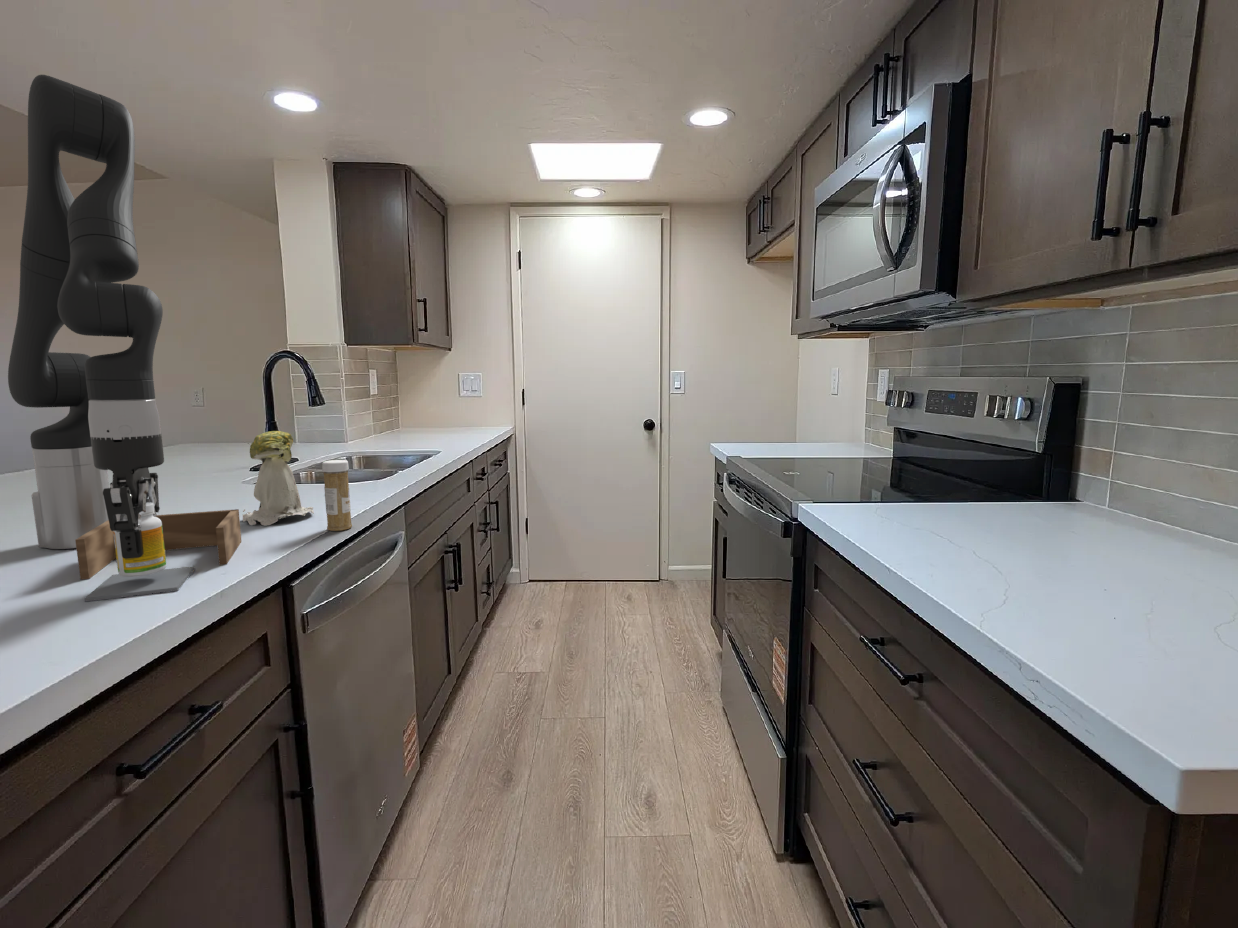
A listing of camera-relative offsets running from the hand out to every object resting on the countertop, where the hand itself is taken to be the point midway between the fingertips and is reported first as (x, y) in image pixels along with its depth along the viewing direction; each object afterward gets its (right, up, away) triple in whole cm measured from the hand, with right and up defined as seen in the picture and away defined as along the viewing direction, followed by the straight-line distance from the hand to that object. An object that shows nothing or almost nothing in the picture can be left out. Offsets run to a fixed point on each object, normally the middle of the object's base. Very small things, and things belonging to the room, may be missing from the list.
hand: (140, 550), depth 83 cm
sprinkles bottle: (+13, -1, +32) cm, 35 cm away
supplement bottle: (0, -3, +1) cm, 3 cm away
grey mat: (0, -5, +1) cm, 5 cm away
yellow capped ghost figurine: (-4, +1, +40) cm, 40 cm away
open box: (-5, -3, +12) cm, 14 cm away
